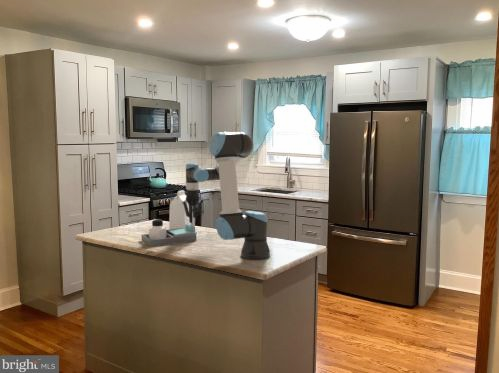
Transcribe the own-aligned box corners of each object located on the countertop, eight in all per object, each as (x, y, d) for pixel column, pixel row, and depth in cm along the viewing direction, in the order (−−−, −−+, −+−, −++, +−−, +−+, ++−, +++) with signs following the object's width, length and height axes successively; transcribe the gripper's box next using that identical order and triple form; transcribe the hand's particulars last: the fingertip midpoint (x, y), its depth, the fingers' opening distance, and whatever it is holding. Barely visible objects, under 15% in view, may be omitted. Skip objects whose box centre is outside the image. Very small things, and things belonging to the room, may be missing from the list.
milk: (185, 233, 285) (184, 192, 282) (169, 232, 289) (168, 191, 285) (193, 229, 296) (193, 190, 293) (177, 228, 300) (177, 189, 296)
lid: (196, 233, 269) (196, 227, 268) (176, 236, 262) (176, 229, 262) (188, 229, 280) (188, 223, 279) (168, 231, 273) (168, 225, 273)
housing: (196, 240, 267) (196, 232, 267) (150, 246, 253) (150, 238, 253) (185, 235, 281) (185, 227, 280) (141, 240, 267) (141, 232, 266)
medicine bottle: (166, 239, 265) (166, 219, 263) (158, 242, 259) (158, 221, 257) (157, 237, 268) (156, 218, 267) (148, 240, 262) (148, 220, 261)
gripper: (199, 187, 278) (200, 225, 281) (179, 189, 271) (180, 227, 274) (204, 189, 271) (205, 228, 274) (184, 190, 265) (185, 230, 268)
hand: (192, 227), depth 274 cm, fingers closed
